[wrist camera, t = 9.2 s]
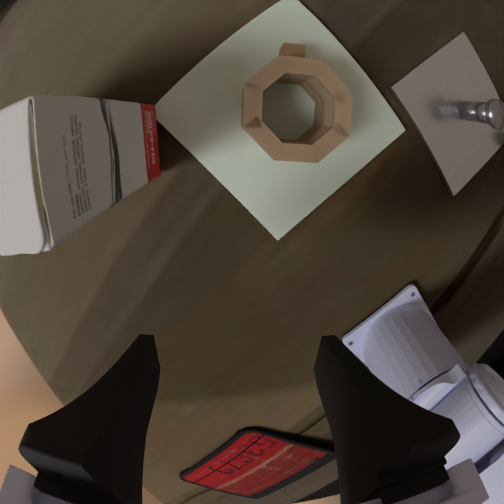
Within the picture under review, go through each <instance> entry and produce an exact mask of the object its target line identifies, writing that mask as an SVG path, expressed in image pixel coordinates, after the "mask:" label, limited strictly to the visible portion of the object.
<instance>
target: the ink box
mask: <svg viewBox="0 0 504 504" xmlns="http://www.w3.org/2000/svg"><path fill="white" fill-rule="evenodd" d="M160 175H161V169H160V159H159V145H158V132H157V120H156V111H155V106H154V105H152V104H143V103H136V102H125V101H118V100H109V99H99V98H90V97H76V96H48V95H34V96H30V97H27V98H25V99H22V100H20V101H18V102H16V103H14V104H12V105H9V106H7V107H5V108H3V109H1V110H0V255H1V256H5V255H16V254H37V253H39V252H41V251H50V250H52V249H53V248H55V247H56V246H57V245H58V244H60V243H61V242H62V241H64V240H65V239H66V238H68V237H69V236H70V235H72V234H73V233H74V232H76V231H77V230H79V229H80V228H81V227H83V226H84V225H86V224H87V223H88V222H90V221H91V220H93V219H94V218H96V217H97V216H98V215H100V214H101V213H103V212H104V211H106V210H107V209H109V208H110V207H112V206H113V205H115V204H116V203H118V202H119V201H121V200H123V199H124V198H126V197H127V196H129V195H130V194H132V193H134V192H135V191H137V190H138V189H140V188H141V187H143V186H145V185H146V184H148V183H150V182H151V181H153V180H154V179H156V178H158V177H159V176H160Z"/></svg>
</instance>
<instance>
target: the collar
mask: <svg viewBox="0 0 504 504" xmlns="http://www.w3.org/2000/svg"><path fill="white" fill-rule="evenodd" d="M275 82H277V83H288V84H299V85H300V86H301V87H302V88H303V89H304V90H305V92H306V93H307V94H308V95H309V96H310V97H311V98H312V99H313V101H314V102H315V112H314V125H313V126H312V127H311V128H310V129H308V130H307V131H306V132H305V133H304V134H303V135H301V136H300V137H299V138H298V139H297V140H291V139H278V138H277V137H276V135H275V134H274V133H273V132H272V131H271V130H270V129H269V128H268V127H267V126H266V125H265V124H264V123H263V122H262V104H263V92H264V91H265V90H266V89H268V88H269V87H270V86H271V85H272V84H274V83H275ZM351 111H352V93H351V92H350V91H349V89H348V88H347V87H346V86H345V85H344V83H343V82H342V81H341V80H340V79H339V77H338V76H337V75H336V74H335V73H334V72H333V70H332V69H331V68H330V67H329V66H328V65H327V64H326V62H325V61H323V60H316V59H309V58H305V45H301V44H293V43H283V45H282V46H281V48H280V49H279V56H277V57H276V58H275V59H273V60H272V61H271V62H270V63H268V64H267V65H266V66H265V67H263V68H262V69H261V70H260V71H258V72H257V73H256V74H255V75H253V76H252V77H251V78H250V79H249V80H247V81H246V82H245V83H244V87H243V90H242V108H241V127H242V128H243V129H244V130H245V131H246V132H247V133H248V134H249V135H250V136H251V137H252V138H253V139H254V140H255V142H256V143H257V144H258V145H259V146H260V147H261V148H262V149H263V150H264V151H265V152H266V153H267V154H268V155H269V156H270V157H271V158H272V159H273V160H275V161H293V162H308V163H319V162H320V161H321V160H322V159H323V158H325V157H326V156H327V155H328V154H329V153H330V152H332V151H333V150H334V149H335V148H336V147H337V146H339V145H340V144H341V143H342V142H343V141H345V140H346V139H347V138H348V137H349V136H350V125H351Z"/></svg>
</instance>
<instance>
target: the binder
mask: <svg viewBox="0 0 504 504" xmlns="http://www.w3.org/2000/svg"><path fill="white" fill-rule="evenodd" d="M309 443H322V442H321V441H318V440H313V439H309V438H304V437H299V436H294V435H290V434H285V433H281V432H277V431H272V430H268V429H264V428H260V427H245V428H242V429H240V430H238V431H237V432H236V433H235V434H234V435H233V436H232V437H231V438H230V439H229V440H228V441H227V442H226V443H225V444H224V445H223V446H221V447H220V448H218V449H217V450H216V451H215V452H213V453H212V454H210V455H209V456H207V457H206V458H205V459H203V460H202V461H201V462H199V463H198V464H196V465H195V466H193V467H192V468H189V469H188V468H187V469H185V470H183V471H181V472H180V476H179V477H180V479H181V480H183V481H186V482H189V483H192V484H196V485H199V486H203V487H206V488H210V489H213V490H217V491H221V492H225V493H229V494H234V495H239V496H243V497H248V498H255V499H259V498H261V497H264V496H266V495H268V494H270V493H272V492H274V491H277V490H279V489H281V488H283V487H285V486H287V485H289V484H291V483H293V482H295V481H296V480H298V479H300V478H302V477H304V476H306V475H308V474H310V473H312V472H313V471H315V470H317V469H319V468H320V467H322V466H324V465H326V464H327V463H329V462H331V461H332V460H334V459H336V454H335V448H333V449H327V448H323V447H321V446H316V445H312V444H309Z"/></svg>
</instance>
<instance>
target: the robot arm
mask: <svg viewBox="0 0 504 504" xmlns="http://www.w3.org/2000/svg"><path fill="white" fill-rule="evenodd" d="M413 292H414V293H413ZM412 293H413V294H412ZM342 341H343V343H344V344H345V345H346V346H347V347H348V348H349V349H350V350H351V351H352V352H353V353H354V354H355V355H356V356H357V357H358V358H359V359H360V360H361V361H363V362H364V363H365V364H366V365H367V366H368V367H369V369H370V371H369V370H368V369H367V368H366V367H365V366H364V365H363V364H362V363H361V362H360V361H359V360H358V359H357V358H356V357H355V356H354V355H353V354H352V353H351V352H350V351H349V350H348V348H347V347H346V346H345V345H344V344H343V343H342V342H341V341H340V340H339V339H338V338H337V337H336V336H335V335H331V336H322V338H321V342H320V346H319V351H318V355H317V359H316V363H315V367H314V371H315V377H316V382H317V388H318V391H319V394H320V397H321V401H322V404H323V407H324V410H325V413H326V416H327V419H328V422H329V425H330V429H331V433H332V437H333V442H334V448H335V454H336V460H337V467H338V475H339V485H340V498H341V504H504V380H503V379H502V378H501V377H500V376H499V375H498V374H497V373H496V372H495V371H494V370H493V369H492V368H491V367H489V366H488V365H486V364H473V365H472V366H471V368H469V367H468V366H467V364H466V363H465V361H464V360H463V359H462V357H461V356H460V355H459V353H458V352H457V351H456V349H455V348H454V347H453V346H452V344H451V343H450V342H449V340H448V339H447V338H446V337H445V335H444V334H443V333H442V331H441V330H440V329H439V327H438V325H437V323H436V322H435V320H434V318H433V316H432V314H431V312H430V311H429V309H428V307H427V305H426V304H425V302H424V300H423V298H422V297H421V295H420V293H419V291H418V290H417V288H416V287H415V285H414V284H409V285H408V286H406V287H405V288H404V289H403V290H402V291H401V292H399V293H398V294H397V295H396V296H395V297H393V298H392V299H391V300H390V301H389V302H387V303H386V304H385V305H384V306H382V307H381V308H380V309H379V310H377V311H376V312H375V313H374V314H372V315H371V316H370V317H368V318H367V319H366V320H365V321H363V322H362V323H361V324H359V325H358V326H357V327H355V328H354V329H353V330H351V331H350V332H349V333H347V334H346V335H345V336H344V337H343V338H342ZM351 341H352V342H351ZM349 342H350V343H349ZM159 375H160V364H159V360H158V355H157V350H156V345H155V340H154V335H142V334H140V335H139V336H138V337H137V338H136V339H135V341H134V342H133V343H132V344H131V346H130V347H129V348H128V349H127V350H126V352H125V353H124V354H123V355H122V356H121V357H120V358H119V360H118V361H117V362H116V363H115V364H114V365H113V366H112V367H111V368H110V369H109V370H108V371H107V372H106V373H105V374H104V375H103V376H102V377H101V379H99V380H98V381H97V382H96V383H95V384H94V385H93V386H92V387H91V388H89V389H88V390H87V391H86V392H85V393H83V394H82V395H81V396H79V397H78V398H76V399H75V400H73V401H72V402H71V403H69V404H68V405H66V406H64V407H63V408H61V409H59V410H58V411H56V412H54V413H52V414H50V415H48V416H46V417H44V418H42V419H40V420H37V421H35V422H33V423H30V424H29V425H28V427H27V429H26V431H25V433H24V435H23V438H22V440H21V443H20V445H19V448H18V449H19V452H20V453H21V455H22V456H23V457H24V459H25V460H26V461H28V462H29V463H30V464H31V465H32V466H33V467H34V468H35V469H36V470H37V471H38V474H37V477H35V476H34V475H32V474H30V473H28V472H26V471H24V470H22V469H19V468H17V467H15V466H12V465H9V468H8V470H7V473H6V476H5V479H4V482H3V484H2V487H1V490H0V504H142V478H143V461H144V450H145V441H146V434H147V429H148V425H149V421H150V417H151V413H152V409H153V405H154V401H155V397H156V393H157V389H158V383H159Z"/></svg>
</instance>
